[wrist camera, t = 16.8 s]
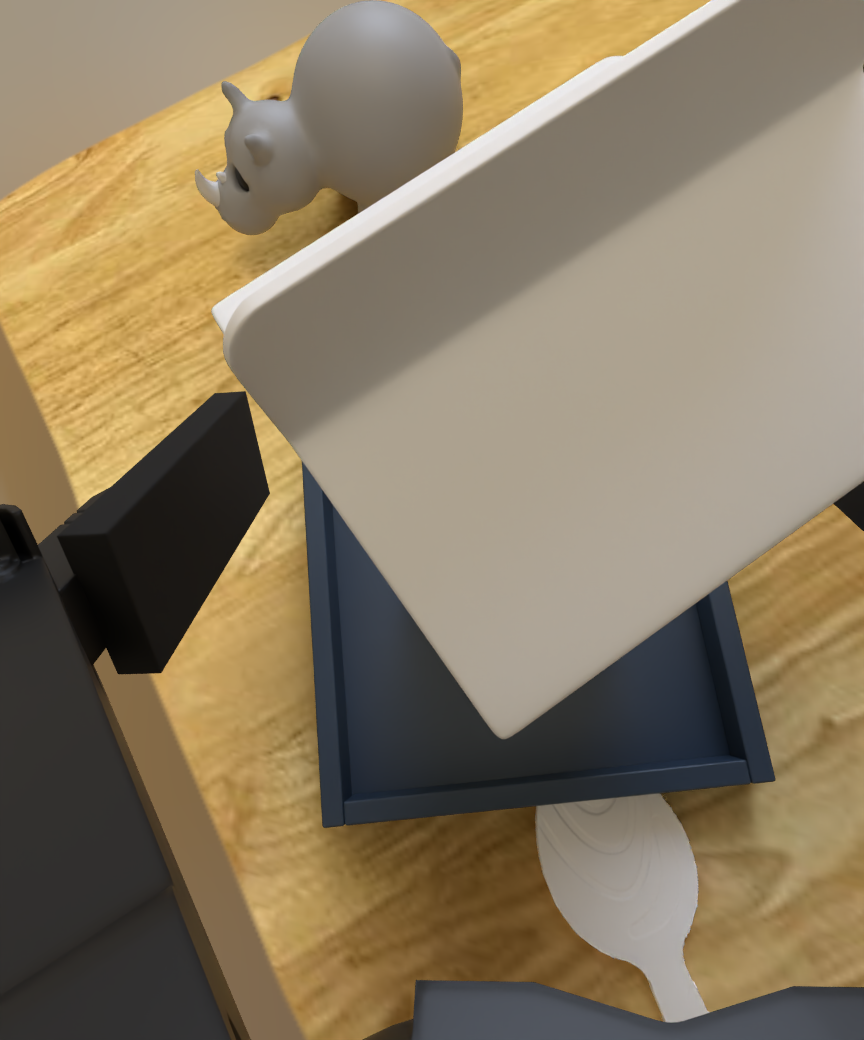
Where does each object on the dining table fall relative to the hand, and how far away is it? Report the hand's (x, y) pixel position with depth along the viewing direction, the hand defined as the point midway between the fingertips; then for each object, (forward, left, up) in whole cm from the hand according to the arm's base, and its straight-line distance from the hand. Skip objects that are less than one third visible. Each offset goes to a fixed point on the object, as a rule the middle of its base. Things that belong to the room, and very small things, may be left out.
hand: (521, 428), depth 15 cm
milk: (0, +2, -11) cm, 12 cm away
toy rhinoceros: (+5, -18, -12) cm, 22 cm away
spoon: (-3, +17, -12) cm, 21 cm away
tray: (0, +2, -12) cm, 12 cm away
